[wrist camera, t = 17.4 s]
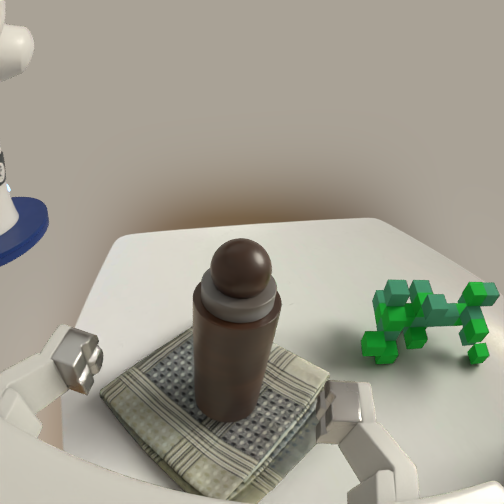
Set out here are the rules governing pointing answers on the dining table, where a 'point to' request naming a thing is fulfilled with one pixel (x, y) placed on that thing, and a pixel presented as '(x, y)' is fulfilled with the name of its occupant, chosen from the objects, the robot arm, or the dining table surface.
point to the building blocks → (426, 318)
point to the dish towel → (214, 432)
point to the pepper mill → (233, 330)
